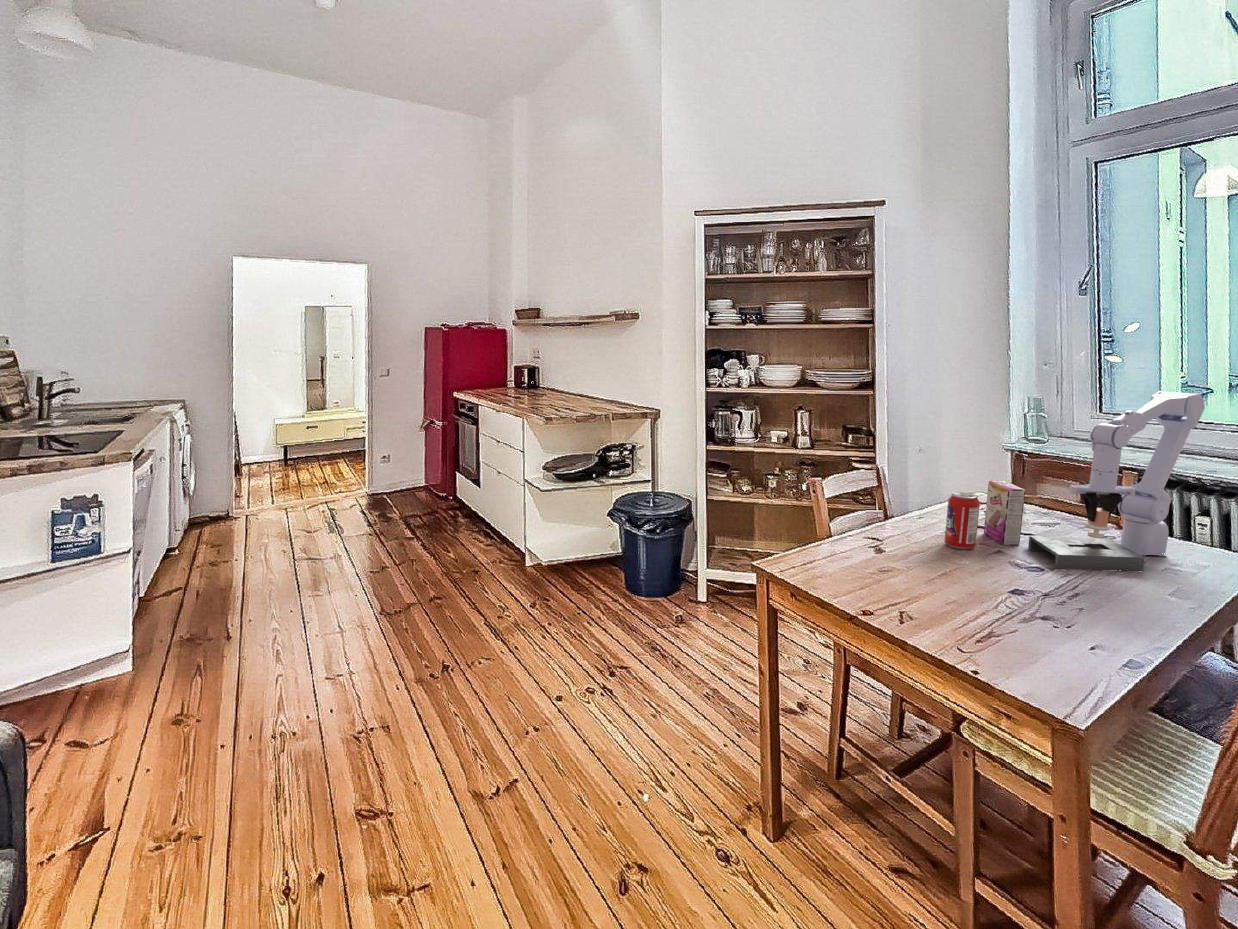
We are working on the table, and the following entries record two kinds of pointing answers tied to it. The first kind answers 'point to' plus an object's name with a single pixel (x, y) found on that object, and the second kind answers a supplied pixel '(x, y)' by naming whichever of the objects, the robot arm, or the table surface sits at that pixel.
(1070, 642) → the table surface
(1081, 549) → the keyhole bracket
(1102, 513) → the peg
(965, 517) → the soda can
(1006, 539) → the candy bar box
